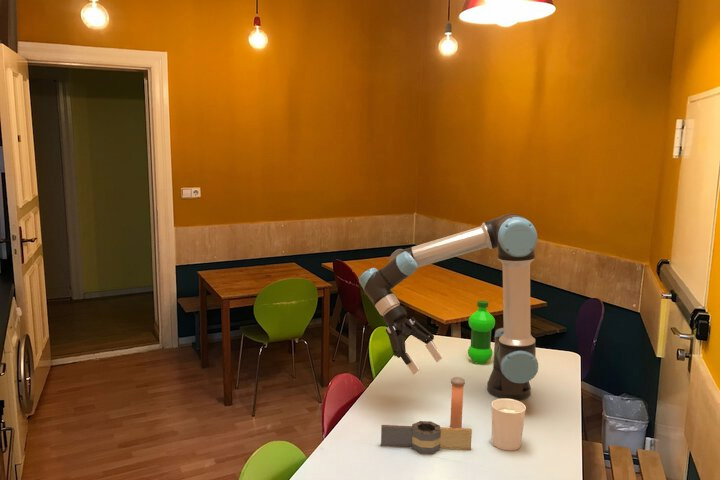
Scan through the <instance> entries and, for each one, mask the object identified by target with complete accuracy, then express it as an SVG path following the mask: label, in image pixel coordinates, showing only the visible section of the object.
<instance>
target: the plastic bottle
mask: <svg viewBox="0 0 720 480" xmlns="http://www.w3.org/2000/svg"><path fill="white" fill-rule="evenodd" d="M476 306H477V308H478V309H477V310H476V311H474V312H473V313H472V314H471V315H470V316H469V318H468V322H467V323H468V326H469V328H470V329H471V332H470V346H469V347H468V349H467V355H468V357H469V358H470V359H471V360H472V361H473V363H475V364H479V365H482V364H486V363H487V362H488V361H489V360H491V358H492V356H493V355H494V350H493V348H492V347H491V342H492V330H493V329H494V328H495V326H496V319H495V317H494V316H493V315H492V314H491V313H490V312H489V311H488V308H489V302H488V301H487V300H477V302H476Z"/></svg>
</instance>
